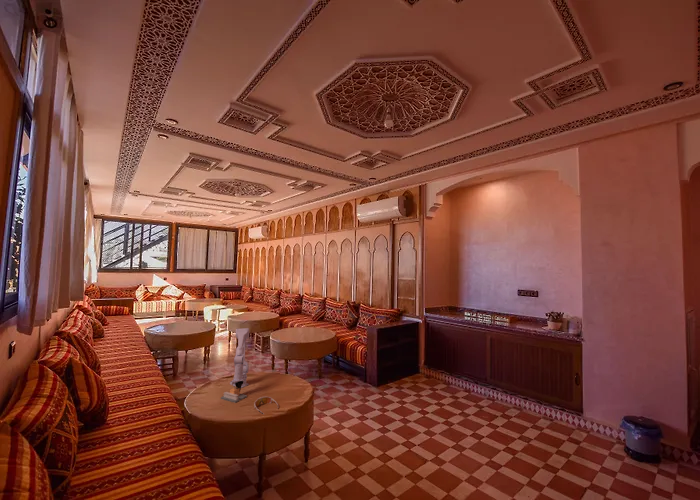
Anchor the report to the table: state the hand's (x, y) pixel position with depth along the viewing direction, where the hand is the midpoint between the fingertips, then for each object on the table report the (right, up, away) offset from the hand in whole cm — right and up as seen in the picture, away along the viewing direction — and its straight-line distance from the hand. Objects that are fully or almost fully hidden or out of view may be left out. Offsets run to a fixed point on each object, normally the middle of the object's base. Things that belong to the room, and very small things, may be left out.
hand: (238, 391), depth 231 cm
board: (-2, -3, -4) cm, 5 cm away
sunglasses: (+25, -3, -19) cm, 31 cm away
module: (-2, -2, -3) cm, 4 cm away
